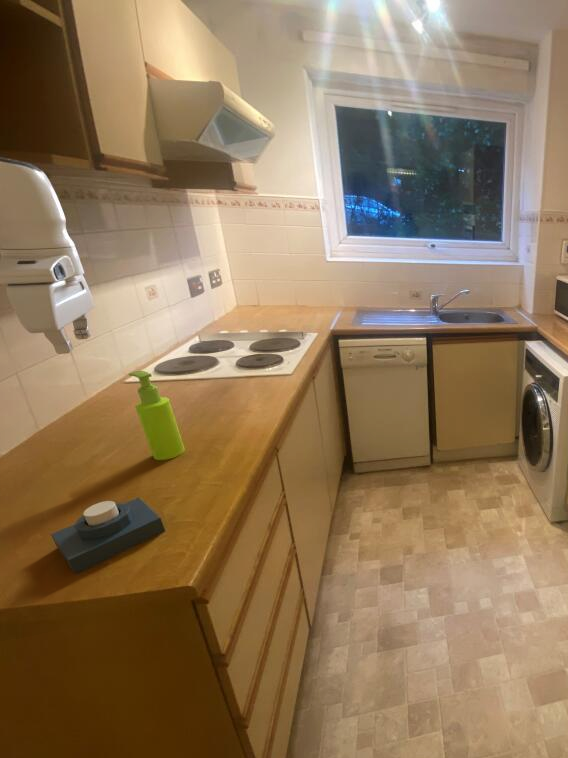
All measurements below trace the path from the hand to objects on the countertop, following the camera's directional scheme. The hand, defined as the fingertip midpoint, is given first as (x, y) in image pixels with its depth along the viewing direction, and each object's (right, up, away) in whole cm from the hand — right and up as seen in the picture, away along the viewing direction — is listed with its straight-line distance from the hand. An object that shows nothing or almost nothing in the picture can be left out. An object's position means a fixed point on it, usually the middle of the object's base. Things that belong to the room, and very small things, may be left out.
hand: (75, 345), depth 77 cm
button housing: (+9, -34, -2) cm, 35 cm away
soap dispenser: (-2, -23, +24) cm, 33 cm away
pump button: (+9, -30, -4) cm, 31 cm away
